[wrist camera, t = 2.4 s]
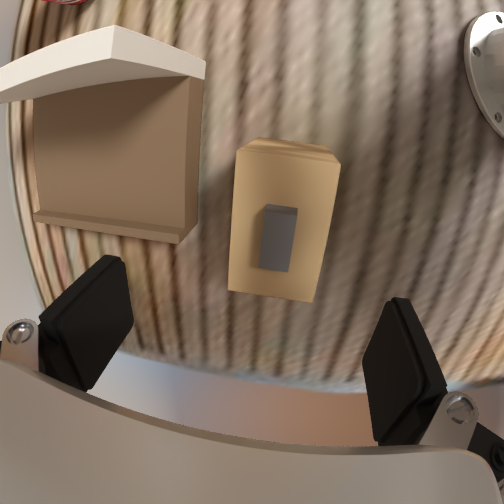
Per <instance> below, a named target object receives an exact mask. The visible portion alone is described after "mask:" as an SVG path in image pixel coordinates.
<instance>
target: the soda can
mask: <svg viewBox="0 0 504 504" xmlns="http://www.w3.org/2000/svg"><path fill="white" fill-rule="evenodd" d="M43 1H48V2H53V3H59V4H67V5H77V4H80V3H83V2H85V1H87V0H43Z"/></svg>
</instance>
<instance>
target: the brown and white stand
mask: <svg viewBox="0 0 504 504" xmlns="http://www.w3.org/2000/svg"><path fill="white" fill-rule="evenodd" d="M205 68H206V61H204V60H201V59H199V58H197V57H195V56H193V55H191V54H189V53H186V52H184V51H182V50H180V49H177V48H175V47H173V46H170V45H168V44H166V43H163V42H161V41H158V40H156V39H153V38H151V37H148V36H145V35H143V34H140V33H137V32H134V31H132V30H129V29H126V28H123V27H120V26H117V25H112V26H108V27H105V28H101V29H97V30H94V31H90V32H87V33H84V34H80V35H77V36H74V37H71V38H68V39H65V40H63V41H60V42H57V43H54V44H52V45H49V46H47V47H44V48H42V49H39V50H37V51H35V52H32V53H30V54H28V55H26V56H23V57H21V58H19V59H17V60H15V61H13V62H11V63H9V64H7V65H5V66H3V67H1V68H0V104H2V103H8V102H14V101H21V100H28V99H33V141H34V158H35V170H36V180H37V189H38V197H39V204H40V210H39V211H38V212H36V213H34V214H33V220H34V222H40V223H46V224H52V225H58V226H65V227H71V228H77V229H84V230H90V231H96V232H103V233H109V234H115V235H122V236H128V237H135V238H141V239H148V240H154V241H160V242H167V243H173V244H180V243H181V241H182V240H183V239H184V238H185V237H186V236H187V234H188V233H189V232H190V231H191V230H192V229H193V228H194V226H195V225H196V224H197V221H198V180H199V155H200V135H201V119H202V104H203V91H204V79H205Z"/></svg>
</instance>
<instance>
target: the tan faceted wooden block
mask: <svg viewBox="0 0 504 504" xmlns="http://www.w3.org/2000/svg"><path fill="white" fill-rule="evenodd" d="M340 168H341V164H340V163H339V161H338V160H337V159H336V157H335V156H334V155H333V154H332V152H331V151H330V150H329V149H328V147H326V146H320V145H314V144H307V143H300V142H293V141H286V140H278V139H269V138H260V137H259V138H257V139H256V140H254V141H252V142H250V143H248V144H247V145H245V146H243V147H241V148H240V149H238V150H237V151H236V165H235V178H234V192H233V207H232V222H231V238H230V255H229V273H228V290H231V291H237V292H243V293H249V294H255V295H262V296H268V297H274V298H281V299H287V300H294V301H301V302H307V303H313V299H314V295H315V291H316V287H317V283H318V278H319V274H320V270H321V265H322V261H323V256H324V252H325V247H326V242H327V238H328V233H329V228H330V223H331V218H332V213H333V207H334V202H335V197H336V191H337V186H338V180H339V174H340Z"/></svg>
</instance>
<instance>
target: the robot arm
mask: <svg viewBox="0 0 504 504" xmlns="http://www.w3.org/2000/svg"><path fill="white" fill-rule="evenodd" d="M464 61H465V68H466V73H467V77H468V81H469V84H470V87H471V90H472V93H473V95H474V98H475V100H476V102H477V104H478V106H479V108H480V110H481V112H482V113H483V115H484V117H485V118H486V120H487V121H488V123H489V124H490V125H491V126H492V128H493V129H494V130H495V131H496V132H497V133H498V134H499V135H500V136H501V137H502V138H503V139H504V13H503V12H497V11H491V12H486V13H483V14H481V15H479V16H477V17H476V18H475V19H474V20H473V21H472V22H471V23H470V25H469V27H468V29H467V31H466V35H465V39H464ZM39 319H40V322H41V323H40V324H39V325H37V324H36V322H35V321H33V320H31V319H20V320H17V321H15V322H13V323H11V324H10V325H9V326H8V327H7V328H6V329H5V331H4V333H3V337H2V341H0V504H504V440H503V439H502V438H500V437H499V436H497V435H496V434H494V433H493V432H491V431H490V430H488V429H487V428H485V427H484V426H482V425H481V424H480V423H478V422H477V420H478V415H479V413H478V408H477V406H476V403H475V402H474V401H473V399H472V398H470V397H469V396H468V395H467V394H465V393H462V392H458V391H453V392H449V393H448V391H447V389H446V386H447V384H446V381H445V379H444V376H443V373H442V371H441V368H440V366H439V364H438V361H437V359H436V356H435V354H434V352H433V349H432V347H431V345H430V343H429V340H428V338H427V336H426V334H425V331H424V329H423V327H422V325H421V323H420V321H419V319H418V317H417V314H416V312H415V310H414V308H413V306H412V304H411V302H410V300H409V299H406V298H397V297H393V298H392V299H391V301H387V302H386V304H385V306H384V309H383V311H382V314H381V316H380V319H379V321H378V324H377V326H376V328H375V331H374V333H373V336H372V338H371V340H370V342H369V345H368V347H367V349H366V351H365V354H364V356H363V360H362V366H363V372H364V377H365V383H366V389H367V395H368V402H369V408H370V415H371V422H372V429H373V437H374V440H375V441H378V446H371V447H350V446H316V445H301V444H289V443H279V442H271V441H263V440H256V439H249V438H242V437H237V436H231V435H225V434H220V433H215V432H210V431H206V430H201V429H197V428H193V427H189V426H184V425H181V424H176V423H173V422H169V421H166V420H162V419H159V418H155V417H152V416H149V415H145V414H142V413H139V412H136V411H133V410H130V409H127V408H124V407H121V406H118V405H116V404H113V403H110V402H108V401H105V400H102V399H100V398H98V397H95V396H93V395H90V394H88V393H86V392H87V390H88V389H89V390H90V389H92V388H93V386H94V385H95V383H96V382H97V380H98V379H99V377H100V375H101V374H102V372H103V371H104V369H105V368H106V366H107V365H108V363H109V361H110V360H111V358H112V357H113V355H114V354H115V352H116V351H117V349H118V348H119V346H120V345H121V343H122V342H123V340H124V339H125V337H126V336H127V334H128V333H129V331H130V330H131V328H132V326H133V323H134V318H133V313H132V307H131V301H130V295H129V289H128V282H127V275H126V268H125V263H124V262H123V261H122V260H121V258H120V257H117V256H112V255H104V256H103V257H102V258H100V259H99V260H98V261H97V262H96V263H95V264H94V265H92V266H91V267H90V268H89V269H88V270H87V271H86V272H85V273H84V274H82V275H81V276H80V277H79V278H78V279H77V280H76V281H75V282H74V283H73V284H72V285H70V286H69V287H68V288H67V289H66V290H65V291H64V292H63V293H62V294H61V295H60V296H59V297H58V298H57V299H56V300H55V301H54V302H53V303H52V304H51V305H50V306H49V307H48V308H47V309H46V310H45V311H44V312H43V313H42V314H41V315H40V316H39Z"/></svg>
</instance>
